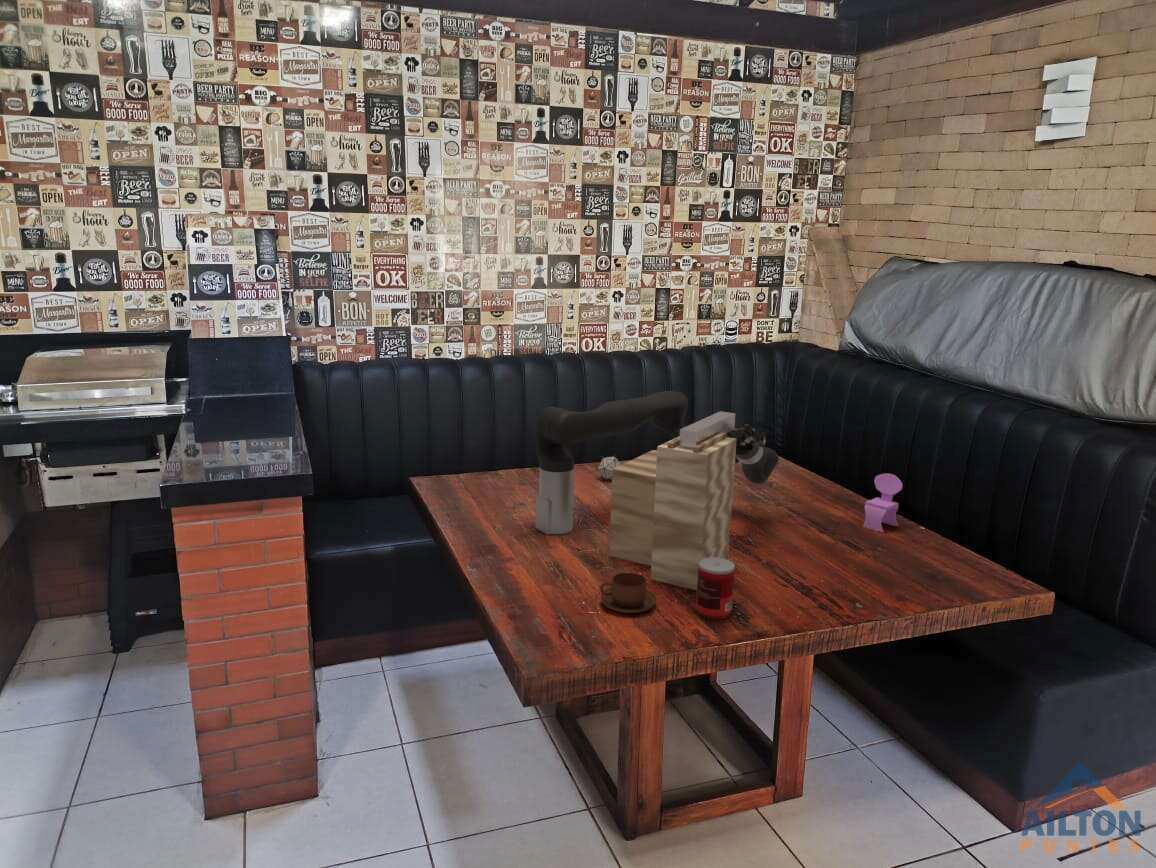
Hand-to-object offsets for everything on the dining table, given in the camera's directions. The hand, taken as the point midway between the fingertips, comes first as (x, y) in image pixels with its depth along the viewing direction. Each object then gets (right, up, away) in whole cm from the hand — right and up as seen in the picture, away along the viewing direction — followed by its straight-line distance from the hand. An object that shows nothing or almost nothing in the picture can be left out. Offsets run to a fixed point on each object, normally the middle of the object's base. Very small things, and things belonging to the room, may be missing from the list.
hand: (728, 425), depth 209 cm
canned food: (-8, -41, -27) cm, 49 cm away
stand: (-14, -33, +2) cm, 36 cm away
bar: (-6, -3, -9) cm, 11 cm away
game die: (-27, -17, +66) cm, 73 cm away
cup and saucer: (-26, -40, -25) cm, 54 cm away
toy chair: (+48, -28, +29) cm, 62 cm away
